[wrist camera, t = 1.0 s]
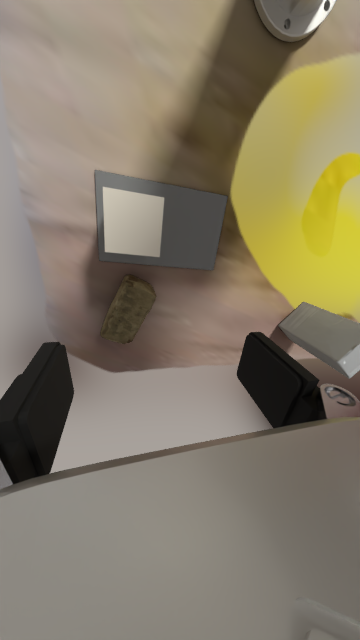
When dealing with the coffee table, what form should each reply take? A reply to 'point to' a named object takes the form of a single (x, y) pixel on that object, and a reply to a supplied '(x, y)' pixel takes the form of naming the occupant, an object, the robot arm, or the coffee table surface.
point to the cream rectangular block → (132, 222)
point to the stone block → (128, 310)
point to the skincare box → (325, 337)
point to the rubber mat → (170, 223)
